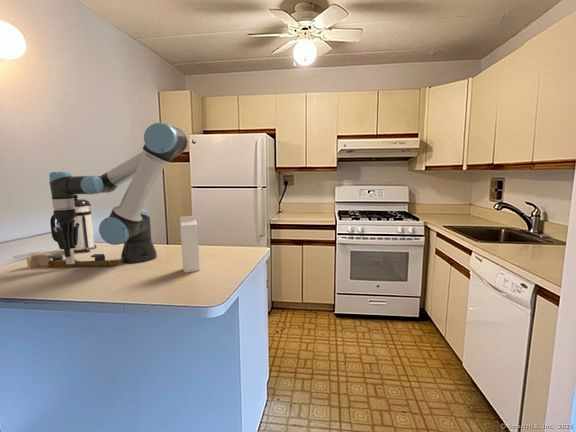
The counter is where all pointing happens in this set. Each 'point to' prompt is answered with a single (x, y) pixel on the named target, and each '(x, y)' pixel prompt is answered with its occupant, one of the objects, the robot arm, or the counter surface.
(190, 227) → the milk
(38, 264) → the board
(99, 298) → the counter surface
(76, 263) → the tap handle
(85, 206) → the coffee press
